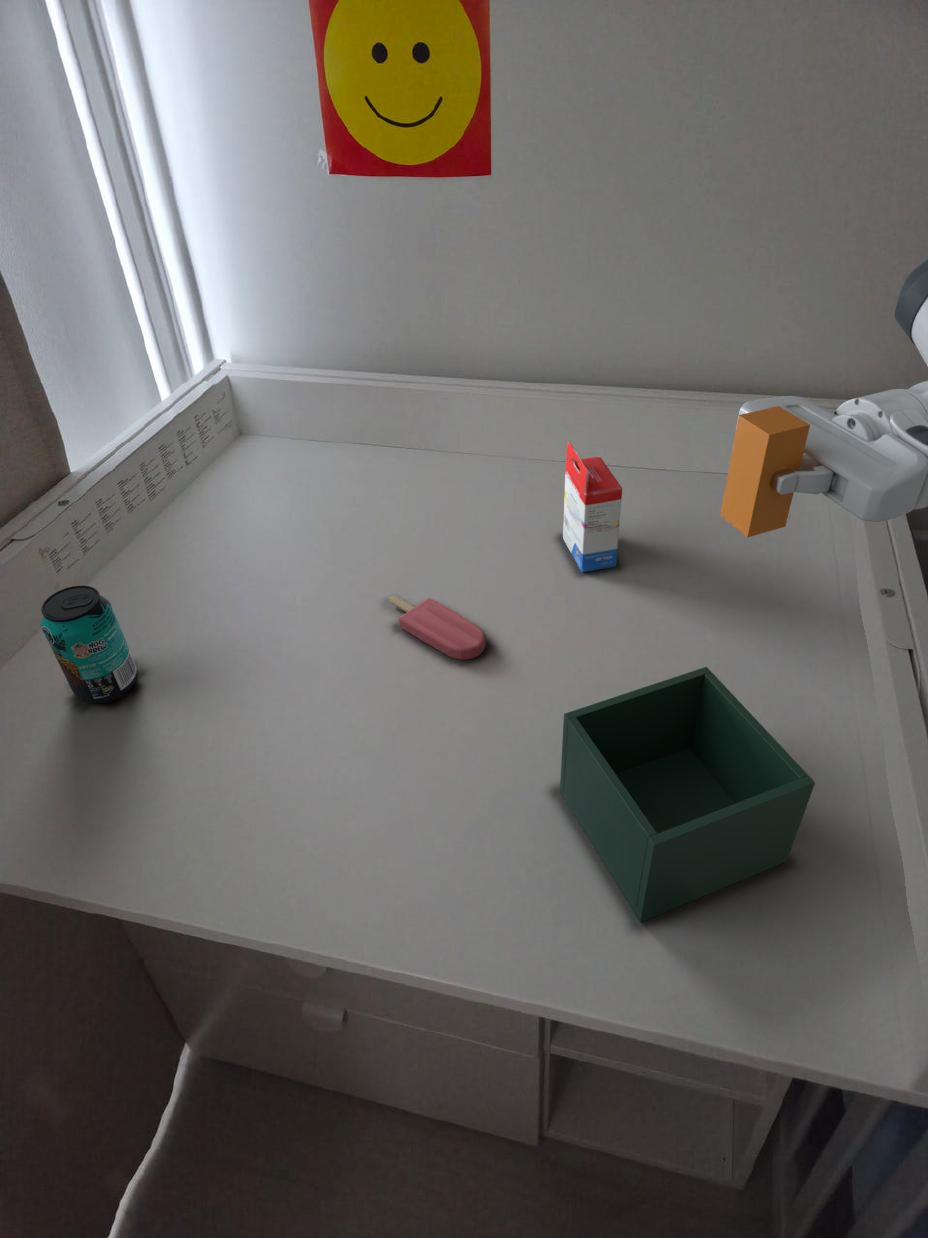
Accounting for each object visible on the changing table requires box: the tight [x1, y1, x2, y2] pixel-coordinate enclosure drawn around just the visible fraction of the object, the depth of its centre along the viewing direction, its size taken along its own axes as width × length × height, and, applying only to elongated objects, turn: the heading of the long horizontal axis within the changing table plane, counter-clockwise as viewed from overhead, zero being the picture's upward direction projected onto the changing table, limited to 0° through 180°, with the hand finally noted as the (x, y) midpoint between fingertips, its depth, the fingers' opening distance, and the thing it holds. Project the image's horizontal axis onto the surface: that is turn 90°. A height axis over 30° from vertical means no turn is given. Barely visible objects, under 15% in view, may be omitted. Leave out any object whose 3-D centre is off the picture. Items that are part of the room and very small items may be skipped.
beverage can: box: [40, 585, 139, 704], centre depth 88 cm, size 7×7×12 cm
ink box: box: [562, 441, 623, 573], centre depth 103 cm, size 8×5×15 cm, turn 12°
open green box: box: [559, 666, 816, 923], centre depth 70 cm, size 15×15×11 cm
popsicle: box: [388, 595, 486, 661], centre depth 96 cm, size 5×2×15 cm
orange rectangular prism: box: [720, 406, 810, 538], centre depth 78 cm, size 4×4×11 cm
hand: (756, 470), depth 77 cm, fingers closed on orange rectangular prism, 4 cm apart
